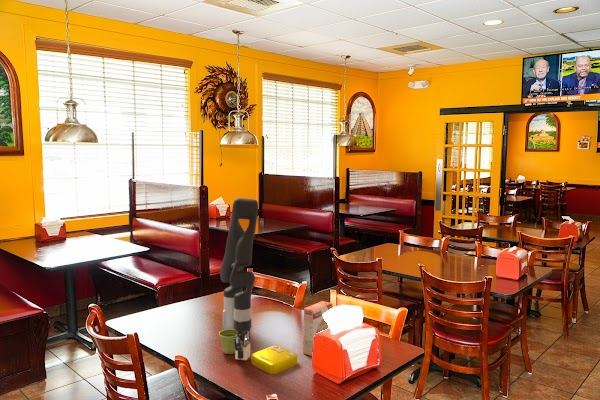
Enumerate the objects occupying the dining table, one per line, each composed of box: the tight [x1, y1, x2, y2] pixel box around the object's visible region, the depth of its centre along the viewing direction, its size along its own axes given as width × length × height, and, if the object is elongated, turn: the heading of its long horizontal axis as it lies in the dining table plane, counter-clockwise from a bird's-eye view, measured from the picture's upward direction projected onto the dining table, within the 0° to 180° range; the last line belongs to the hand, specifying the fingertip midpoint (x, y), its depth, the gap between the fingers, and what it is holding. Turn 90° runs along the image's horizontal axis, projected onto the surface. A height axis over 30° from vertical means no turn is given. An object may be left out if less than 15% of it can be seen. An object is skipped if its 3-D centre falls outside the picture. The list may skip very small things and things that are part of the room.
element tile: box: [250, 344, 298, 375], centre depth 205 cm, size 15×15×5 cm
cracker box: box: [302, 300, 333, 357], centre depth 216 cm, size 14×6×21 cm, turn 140°
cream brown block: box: [234, 341, 251, 361], centre depth 207 cm, size 5×5×6 cm
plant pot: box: [218, 329, 238, 355], centre depth 216 cm, size 9×9×9 cm
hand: (242, 355), depth 208 cm, fingers closed on cream brown block, 5 cm apart
